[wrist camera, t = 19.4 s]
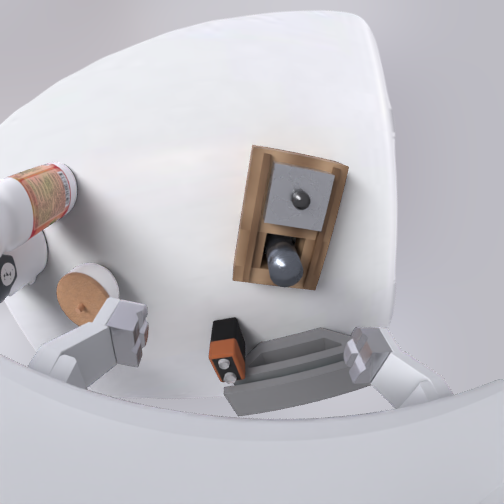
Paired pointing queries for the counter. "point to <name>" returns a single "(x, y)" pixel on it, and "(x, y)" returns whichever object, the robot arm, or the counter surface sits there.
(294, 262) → the grey rounded cylinder
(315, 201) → the square lid with knob
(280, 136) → the counter surface
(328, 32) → the counter surface
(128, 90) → the counter surface
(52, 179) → the fruit juice
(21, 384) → the robot arm
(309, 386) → the grey storage box
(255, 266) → the socket block
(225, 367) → the battery
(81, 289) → the lidded jar
